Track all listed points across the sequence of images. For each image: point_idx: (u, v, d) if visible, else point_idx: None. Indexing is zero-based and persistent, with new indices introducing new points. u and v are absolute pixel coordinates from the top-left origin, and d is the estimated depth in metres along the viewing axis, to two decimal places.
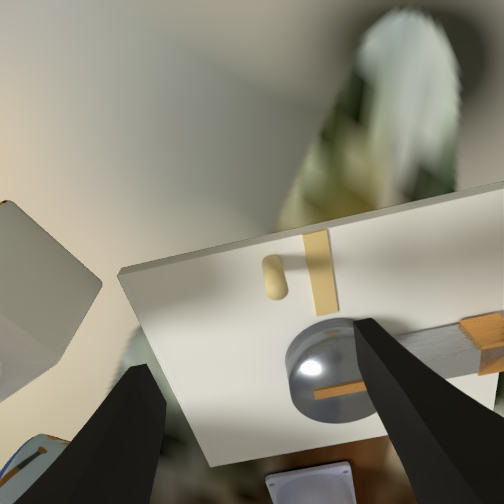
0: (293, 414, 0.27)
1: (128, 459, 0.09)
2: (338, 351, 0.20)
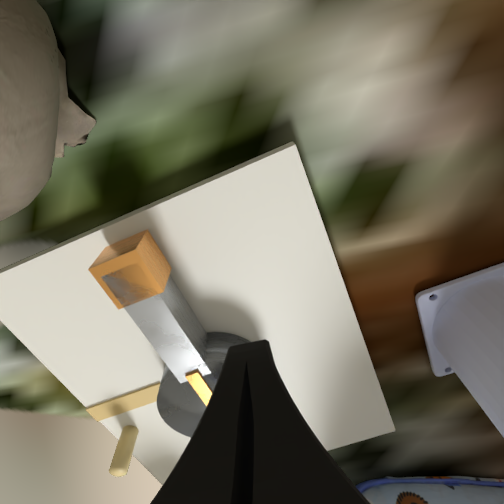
0: (307, 383, 0.24)
1: (251, 436, 0.09)
2: (169, 420, 0.21)
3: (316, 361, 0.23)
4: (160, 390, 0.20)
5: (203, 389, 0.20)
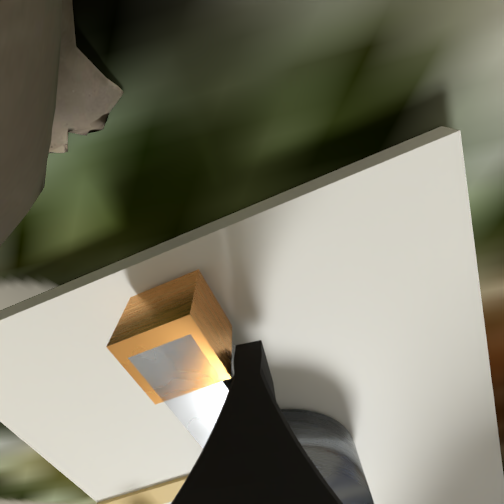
0: (404, 468, 0.17)
1: None
2: None
3: (423, 442, 0.16)
4: None
5: None
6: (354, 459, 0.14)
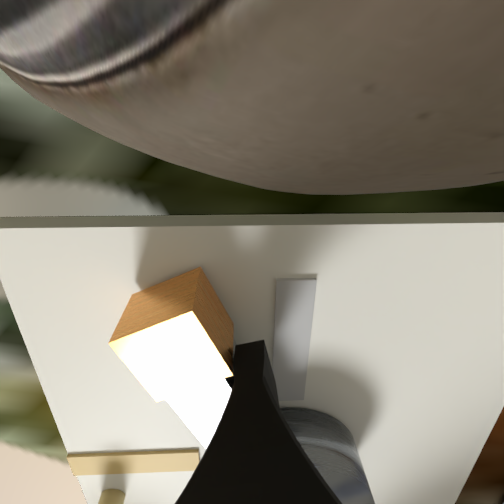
0: (375, 494, 0.18)
1: None
2: None
3: (405, 475, 0.18)
4: None
5: None
6: (355, 458, 0.14)
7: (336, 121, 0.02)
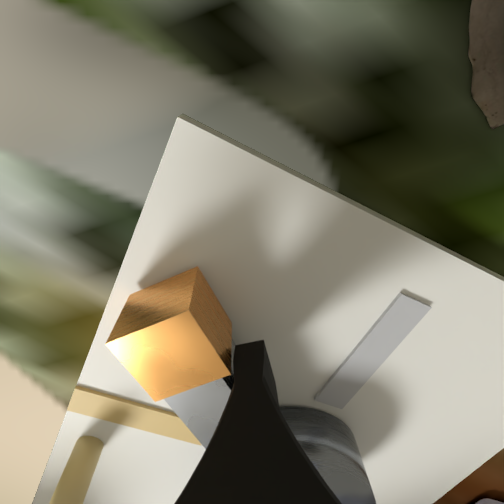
0: None
1: None
2: None
3: None
4: None
5: None
6: (355, 456, 0.14)
7: None
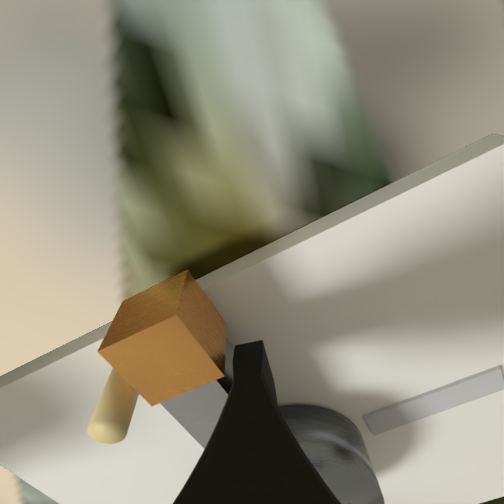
0: None
1: None
2: None
3: None
4: None
5: None
6: (360, 452, 0.14)
7: None
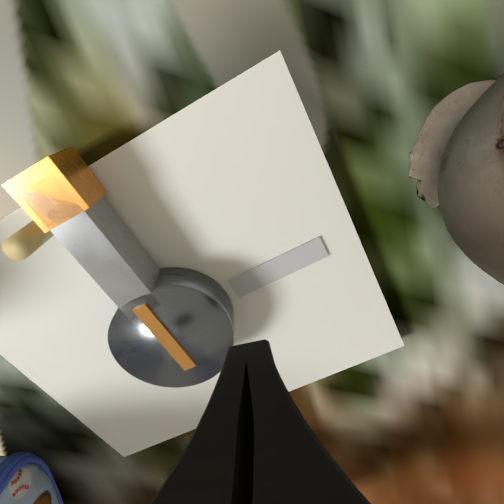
0: None
1: (251, 436, 0.09)
2: (126, 364, 0.20)
3: (204, 388, 0.25)
4: (109, 329, 0.18)
5: (155, 325, 0.18)
6: (215, 296, 0.19)
7: None
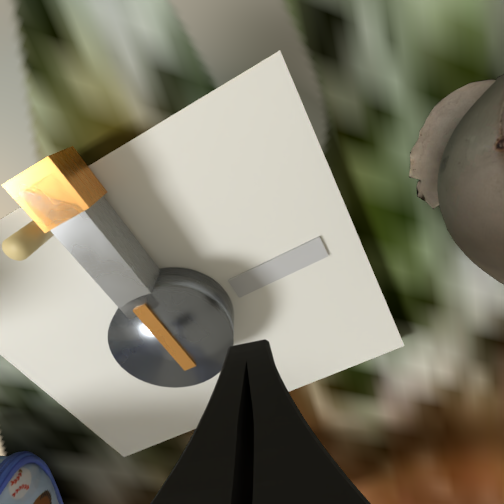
0: None
1: (251, 436, 0.09)
2: (126, 364, 0.20)
3: (204, 388, 0.25)
4: (109, 329, 0.18)
5: (155, 325, 0.18)
6: (215, 296, 0.19)
7: None
